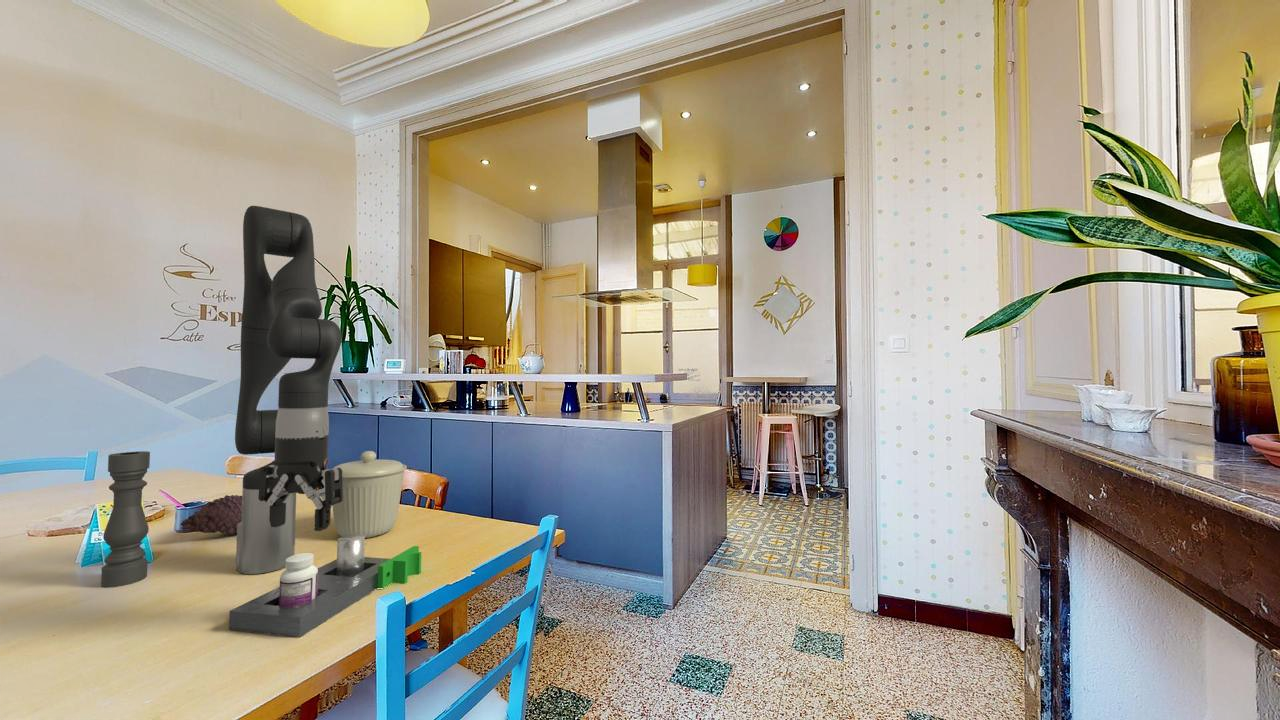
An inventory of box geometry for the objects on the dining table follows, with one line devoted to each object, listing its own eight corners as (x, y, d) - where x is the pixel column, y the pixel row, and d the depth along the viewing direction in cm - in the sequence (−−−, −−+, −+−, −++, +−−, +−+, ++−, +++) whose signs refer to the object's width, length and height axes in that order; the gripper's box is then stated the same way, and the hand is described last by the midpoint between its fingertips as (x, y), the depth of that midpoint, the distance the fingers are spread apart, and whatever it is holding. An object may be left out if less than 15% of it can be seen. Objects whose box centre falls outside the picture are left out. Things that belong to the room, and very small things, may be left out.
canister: (306, 542, 116) (309, 455, 117) (361, 520, 134) (363, 445, 135) (372, 547, 113) (374, 458, 114) (419, 524, 131) (421, 447, 132)
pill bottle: (291, 606, 84) (293, 551, 85) (323, 605, 85) (325, 550, 85) (270, 622, 79) (272, 563, 79) (304, 621, 79) (306, 562, 80)
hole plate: (228, 629, 77) (229, 610, 77) (344, 569, 100) (344, 555, 100) (299, 637, 74) (300, 617, 75) (400, 574, 98) (400, 559, 98)
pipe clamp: (395, 591, 91) (395, 567, 91) (377, 590, 91) (377, 566, 92) (429, 568, 102) (429, 546, 102) (413, 566, 103) (413, 545, 103)
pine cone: (184, 549, 111) (185, 506, 112) (175, 540, 117) (176, 499, 117) (276, 530, 125) (277, 492, 126) (263, 523, 131) (264, 486, 132)
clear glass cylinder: (330, 588, 91) (331, 541, 92) (348, 578, 96) (349, 533, 96) (351, 590, 91) (352, 542, 91) (369, 580, 95) (370, 534, 95)
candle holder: (153, 577, 96) (157, 452, 97) (109, 589, 90) (114, 457, 91) (138, 572, 99) (143, 450, 99) (95, 583, 93) (100, 454, 94)
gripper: (246, 434, 80) (242, 532, 79) (321, 438, 78) (318, 538, 77) (286, 429, 87) (283, 518, 87) (355, 432, 85) (353, 523, 85)
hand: (299, 527), depth 82 cm, fingers open, 8 cm apart
